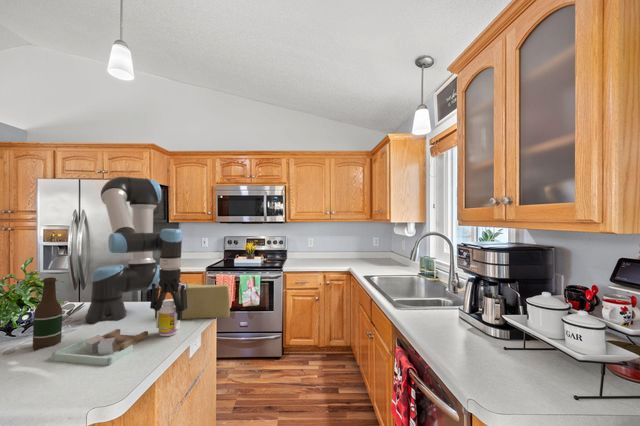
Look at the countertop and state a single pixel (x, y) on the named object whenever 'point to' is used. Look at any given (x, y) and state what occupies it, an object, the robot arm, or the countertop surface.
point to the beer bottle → (47, 318)
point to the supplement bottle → (167, 318)
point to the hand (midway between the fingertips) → (168, 327)
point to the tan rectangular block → (207, 301)
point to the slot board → (125, 338)
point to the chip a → (93, 343)
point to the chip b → (107, 346)
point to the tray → (64, 356)
